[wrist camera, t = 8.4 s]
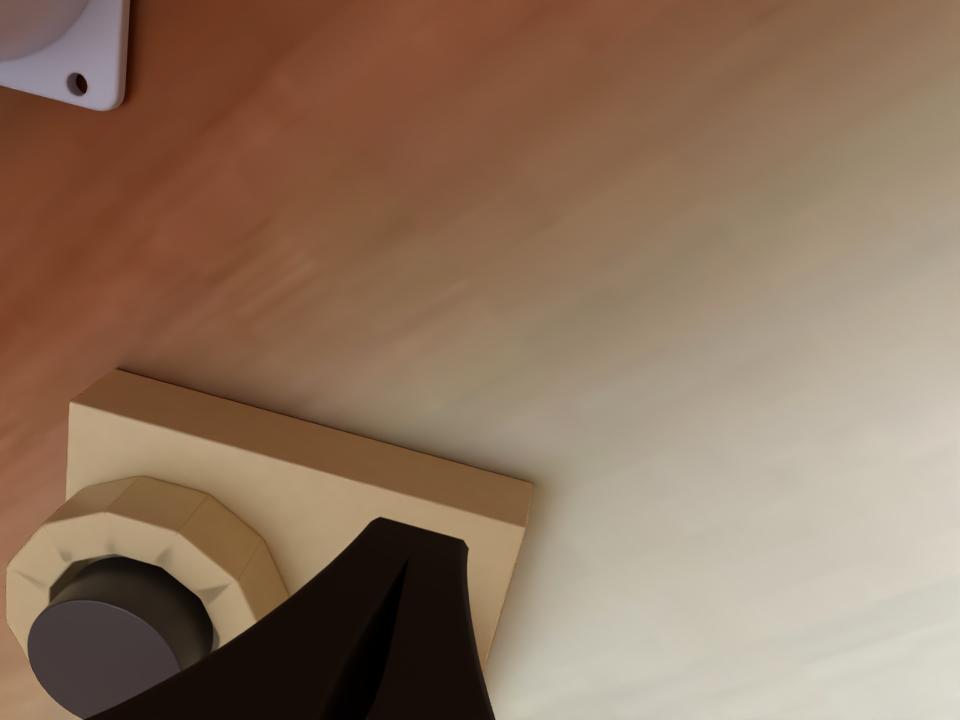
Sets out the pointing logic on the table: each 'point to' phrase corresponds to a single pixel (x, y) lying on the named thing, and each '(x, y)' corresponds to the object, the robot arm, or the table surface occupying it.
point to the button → (116, 635)
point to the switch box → (248, 504)
